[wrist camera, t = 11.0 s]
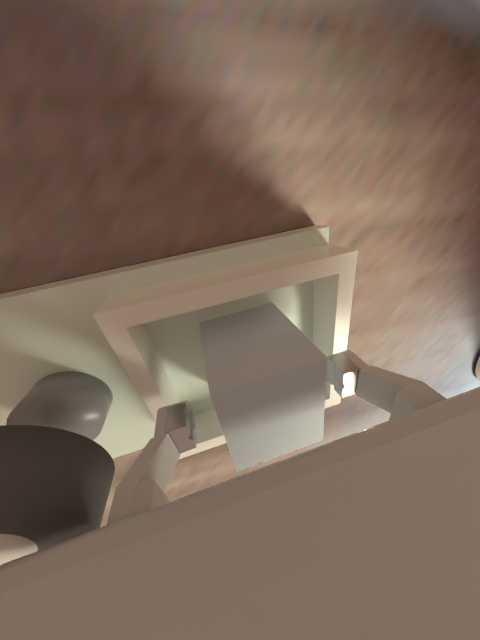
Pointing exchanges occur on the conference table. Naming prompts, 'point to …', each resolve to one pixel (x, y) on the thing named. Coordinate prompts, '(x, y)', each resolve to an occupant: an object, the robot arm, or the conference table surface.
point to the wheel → (49, 487)
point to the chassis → (160, 334)
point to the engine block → (264, 383)
